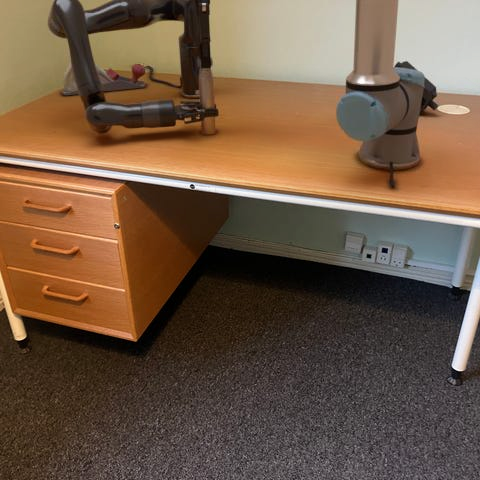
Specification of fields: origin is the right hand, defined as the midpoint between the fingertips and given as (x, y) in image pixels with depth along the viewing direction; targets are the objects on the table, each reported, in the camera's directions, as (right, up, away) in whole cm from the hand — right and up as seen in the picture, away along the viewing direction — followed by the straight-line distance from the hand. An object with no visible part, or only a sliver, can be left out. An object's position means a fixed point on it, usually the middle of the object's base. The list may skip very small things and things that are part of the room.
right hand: (205, 65), depth 148 cm
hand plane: (-40, +8, +50) cm, 65 cm away
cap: (0, +1, -1) cm, 2 cm away
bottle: (0, -16, +10) cm, 19 cm away
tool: (+63, -7, +24) cm, 68 cm away
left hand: (+3, -11, +7) cm, 13 cm away
